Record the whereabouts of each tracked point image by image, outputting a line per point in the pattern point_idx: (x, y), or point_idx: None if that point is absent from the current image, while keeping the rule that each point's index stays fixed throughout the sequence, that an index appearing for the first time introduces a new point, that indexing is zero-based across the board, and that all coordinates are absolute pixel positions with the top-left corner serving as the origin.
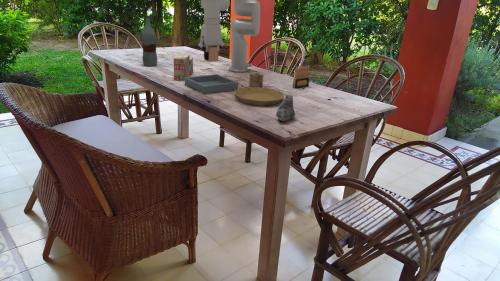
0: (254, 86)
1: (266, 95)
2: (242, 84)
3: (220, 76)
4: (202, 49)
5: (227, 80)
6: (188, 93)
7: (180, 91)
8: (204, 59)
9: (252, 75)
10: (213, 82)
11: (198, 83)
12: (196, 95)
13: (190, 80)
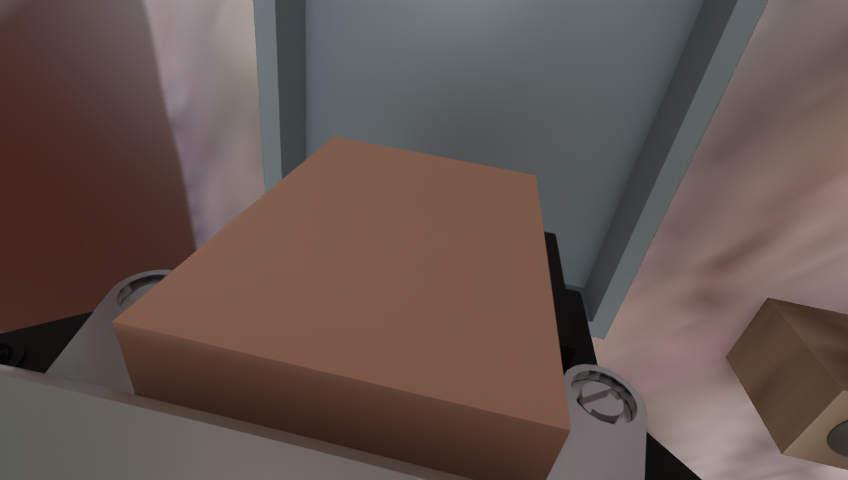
0: (737, 364)
1: None
2: (811, 217)
3: (711, 55)
4: (62, 334)
5: (638, 202)
6: (207, 142)
7: (167, 54)
8: (329, 140)
9: (809, 413)
10: (602, 14)
11: (269, 168)
12: (239, 214)
13: (254, 8)
